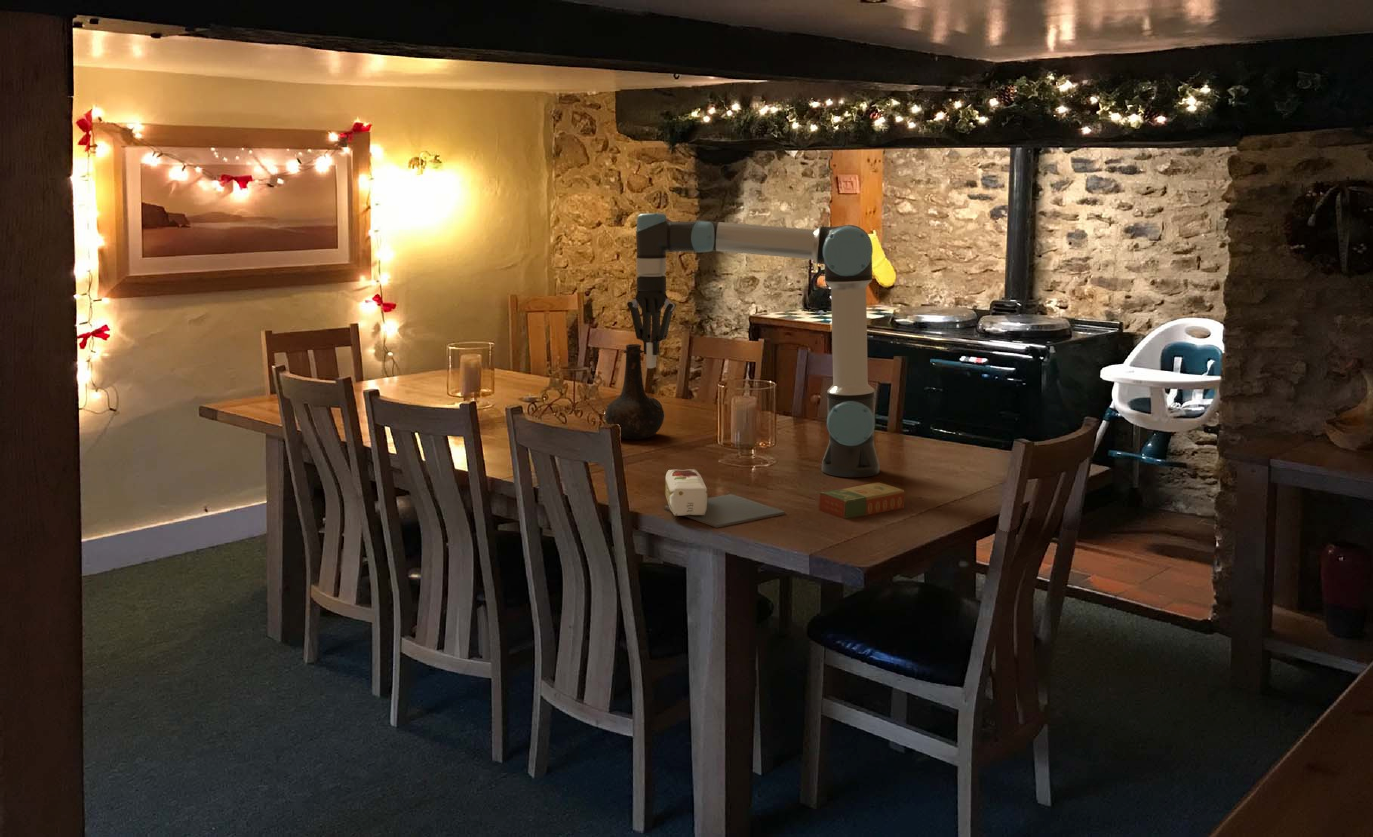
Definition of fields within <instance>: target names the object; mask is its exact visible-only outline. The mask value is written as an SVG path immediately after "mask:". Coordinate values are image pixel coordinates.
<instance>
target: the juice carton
mask: <svg viewBox="0 0 1373 837" xmlns="http://www.w3.org/2000/svg"><path fill="white" fill-rule="evenodd" d="M664 480H665V484H664V485H665V488H664V489H665V493H664V494H665V498H666V501H667V504H668V505H669V507H670V510H671V511H670V512H671V513H672V514H673V516H674V517H675V516H676V517H677V516H683V515H705V512H706V509H707V498H708V488H707V486H706V484H705V482H704V479H703V477H702V474H700V473H699V472H698V470H697V469H668V471H666V474H665V479H664Z"/></svg>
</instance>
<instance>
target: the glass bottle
mask: <svg viewBox="0 0 1373 837" xmlns="http://www.w3.org/2000/svg"><path fill="white" fill-rule="evenodd" d="M641 347H642V344H637V343H636V344H633V343H630V344H629V343H628V344H626V345H625V350H623V351H622V352H623V354H625V367H624V378H623V385H622V389H621V392H620V395H619V396H618V397H617V398H615V399H613V400H612V401H610V402H609V404H608V405H607V407H606V409H605V412H604V413H605V414H604V418H605V419H604V420H605V424H606V425H607V424H619V425H620V427H621V438H622V439H625V440H643V439H648V438H651V437H652V436H654V435H656V434H657V432H659V430H660V429H661V427H662V426H663V423H664V420H665V412H664V409H663V406H662V403H661V402H660V401H659V400H658V399H656V398H654V397H650V396H648V395H647V394H646V392H645V389H644V388H645V387H644V381H643V373H642V371H643V370H642V356H641V354H644V350H643V349H641Z"/></svg>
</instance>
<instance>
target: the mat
mask: <svg viewBox="0 0 1373 837" xmlns="http://www.w3.org/2000/svg"><path fill="white" fill-rule="evenodd" d="M663 506H664V507H663V509H664V510H667V511H668V512H669V511H670V512H672V511H671V510H670V507H669V504H668V505H663ZM782 515H786V510H783V509H779V508H776V507H772V506H769V505H768V504H767V505H766V504H763V503H760V502H757V501H754V500H751V499H748V498H745V497H742V496H739V495H736V494H734V493H733V494H732V493H729V494H723V495H718V496H713V497H707V509H706V512H705V515H682V516H684V517H686V518H688V519H691V520H694V521H697V522H700V523H701V524H704V525H708V526H710V527H713V528H716V529H718V528H721V527H727V526H733V525H738V524H742V523H748V522H753V521H758V520H762V519H769V518H772V517H777V516H782Z"/></svg>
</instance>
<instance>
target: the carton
mask: <svg viewBox="0 0 1373 837" xmlns="http://www.w3.org/2000/svg"><path fill="white" fill-rule="evenodd" d="M904 508H905V490H904V489H902V488H899V487H896V486H893V485H890V484H886V483H882V482H878V481H877V482H871V483H866V484H861V485H856V486H849V487H844V488H838V489H833V490H827V491H821V492H820V493H819V500H818V511H820V512H824V513H826V514H830V515H832V516H836V517H839V518H842V519H844V520H847V519H852V518H857V517H863V516H867V515H868V516H869V515H873V514H879V513H884V512H889V511H895V510H901V509H904Z"/></svg>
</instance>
